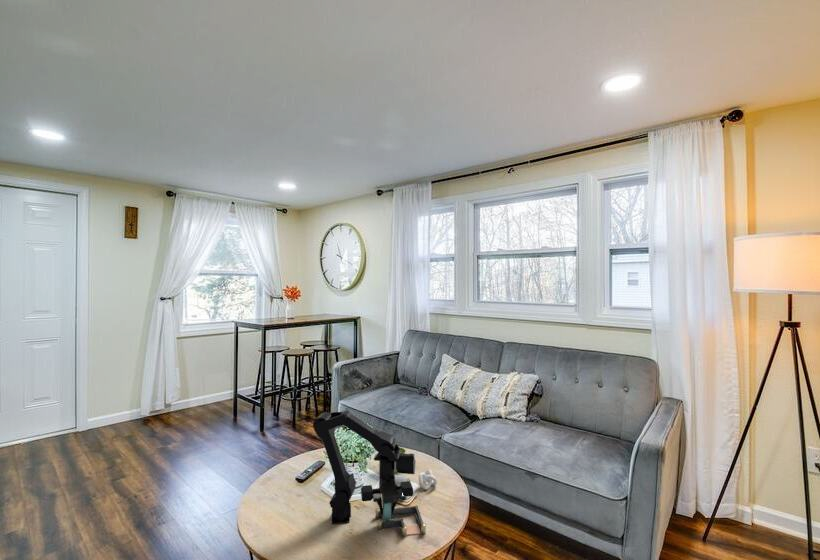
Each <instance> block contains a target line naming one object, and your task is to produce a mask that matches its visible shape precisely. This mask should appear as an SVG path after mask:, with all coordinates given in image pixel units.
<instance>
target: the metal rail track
mask: <svg viewBox="0 0 820 560" xmlns="http://www.w3.org/2000/svg"><path fill="white" fill-rule="evenodd" d="M374 514H375V516H374V517H375V519H377V523H376V524H377V525H376V526H377V529H376V530H377V531H379V532H380V531H383V530H390V529H397V528H401V537H402V538H407V536H408V535H407V527H406V526H405V523H404V522H405V521H404V519H403V518H398V519H391V520H388V521H384V520H383V515H382V514H381V511H380V508H379V507H377V508H375V512H374ZM408 515H415V516H416V518H417V520H416V521H417V522H418V523H417V524H418V526H419V529H420V532H421V535H422V536H425V535H426V533H427V532H426V531H427V530H426V529H427V528H426V526H427V525H426V523H424V521H423V517H422V515H421V513H420V509H419V507H418V505H413V506H404V507H403V506H402V507H395V508H394V511H393V514H391V518H392V517H399V516H408Z"/></svg>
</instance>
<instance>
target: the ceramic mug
mask: <svg viewBox="0 0 820 560" xmlns="http://www.w3.org/2000/svg"><path fill="white" fill-rule="evenodd" d="M406 481H410V482H411V479H410V478H409V477H407V476H403V475H400V474H399V475H397V474H395V483H396V485H400V483H401V482H406ZM402 493H403V492H402Z"/></svg>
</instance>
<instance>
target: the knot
mask: <svg viewBox="0 0 820 560" xmlns="http://www.w3.org/2000/svg"><path fill="white" fill-rule="evenodd" d="M418 482H419V485H420V486H421V488H422V489H423V490H426V491H428V490H430V488H431V486H433V487H434V486H436V485H437V484H438V480H437V478H436V477H435V476H434V475H433V471H432V470H431V469H428V470H426V471H425V472H420V473H419V475H418ZM426 483H427V484H426Z"/></svg>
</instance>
